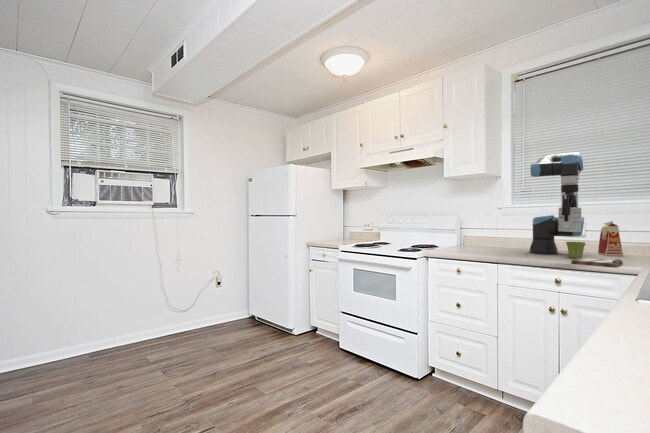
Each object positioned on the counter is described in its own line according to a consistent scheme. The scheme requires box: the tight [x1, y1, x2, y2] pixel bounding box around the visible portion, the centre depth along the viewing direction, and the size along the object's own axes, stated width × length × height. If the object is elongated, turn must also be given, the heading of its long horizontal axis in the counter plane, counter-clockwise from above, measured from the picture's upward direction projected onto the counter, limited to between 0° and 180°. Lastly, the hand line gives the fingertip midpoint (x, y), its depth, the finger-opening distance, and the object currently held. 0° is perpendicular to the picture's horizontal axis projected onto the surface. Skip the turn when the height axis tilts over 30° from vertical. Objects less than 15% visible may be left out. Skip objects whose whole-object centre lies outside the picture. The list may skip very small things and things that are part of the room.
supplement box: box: [558, 207, 582, 232], centre depth 188 cm, size 7×7×13 cm
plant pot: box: [565, 241, 587, 259], centre depth 202 cm, size 9×9×9 cm
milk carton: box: [597, 220, 624, 257], centre depth 211 cm, size 9×9×20 cm
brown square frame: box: [570, 257, 624, 268], centre depth 180 cm, size 18×15×2 cm
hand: (569, 227), depth 188 cm, fingers closed on supplement box, 9 cm apart
